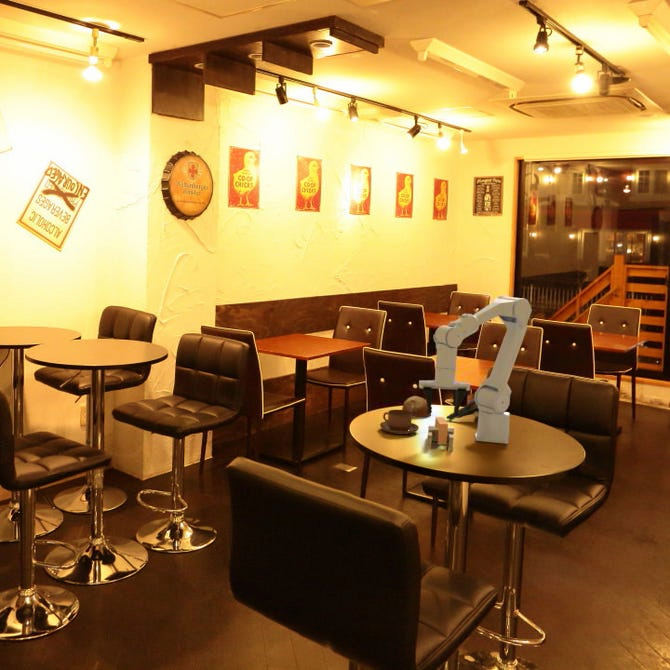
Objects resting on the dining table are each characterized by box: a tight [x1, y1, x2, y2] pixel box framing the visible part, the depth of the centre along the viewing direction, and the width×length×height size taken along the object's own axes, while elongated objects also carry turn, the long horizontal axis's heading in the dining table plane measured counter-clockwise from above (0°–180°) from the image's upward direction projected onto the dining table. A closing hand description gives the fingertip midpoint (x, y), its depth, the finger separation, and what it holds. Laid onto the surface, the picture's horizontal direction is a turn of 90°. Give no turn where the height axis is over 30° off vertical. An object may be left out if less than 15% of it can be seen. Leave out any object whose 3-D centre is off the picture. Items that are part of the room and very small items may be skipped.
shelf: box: [426, 424, 455, 452], centre depth 212 cm, size 7×12×5 cm, turn 170°
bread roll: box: [401, 395, 433, 418], centre depth 248 cm, size 10×10×8 cm
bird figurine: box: [446, 389, 513, 422], centre depth 240 cm, size 13×10×20 cm
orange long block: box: [434, 416, 449, 446], centre depth 211 cm, size 2×8×6 cm, turn 1°
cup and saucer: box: [379, 409, 420, 435], centre depth 224 cm, size 12×12×6 cm
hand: (442, 413), depth 210 cm, fingers open, 7 cm apart
